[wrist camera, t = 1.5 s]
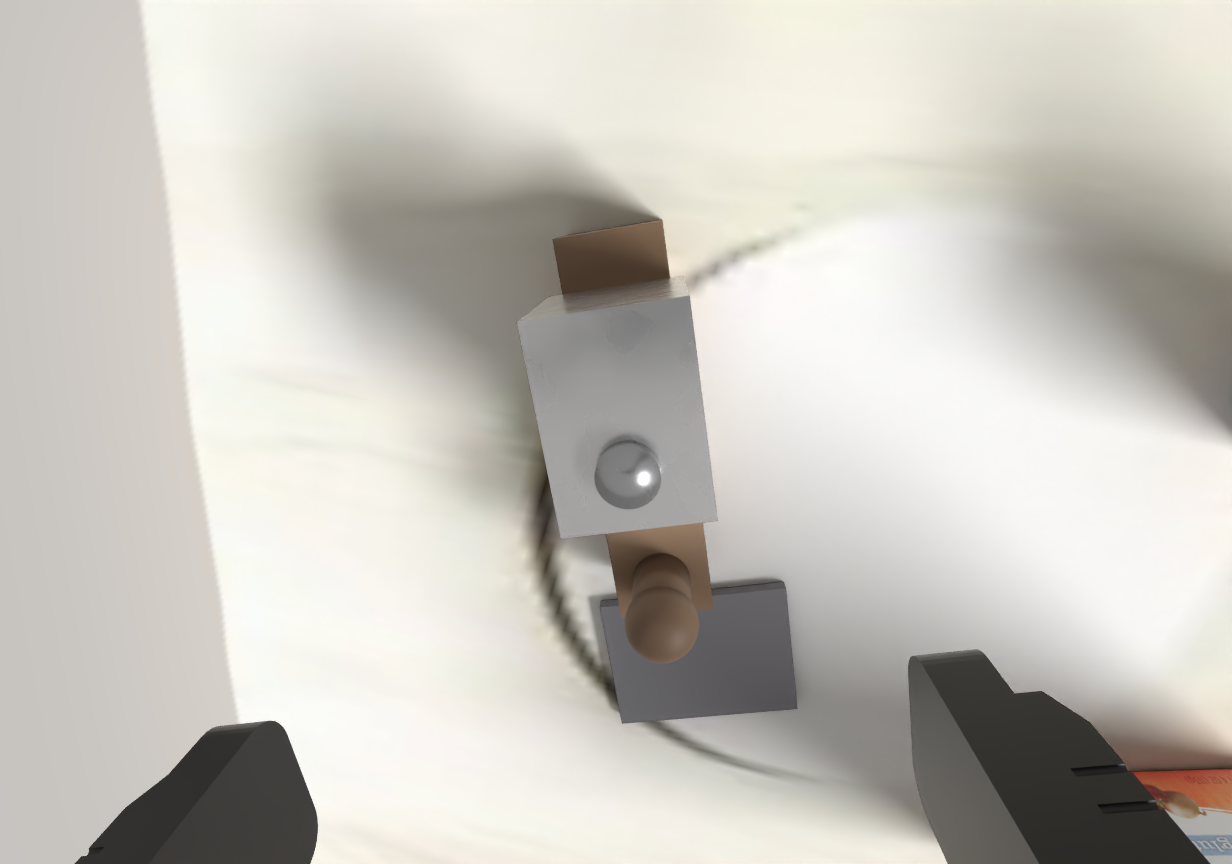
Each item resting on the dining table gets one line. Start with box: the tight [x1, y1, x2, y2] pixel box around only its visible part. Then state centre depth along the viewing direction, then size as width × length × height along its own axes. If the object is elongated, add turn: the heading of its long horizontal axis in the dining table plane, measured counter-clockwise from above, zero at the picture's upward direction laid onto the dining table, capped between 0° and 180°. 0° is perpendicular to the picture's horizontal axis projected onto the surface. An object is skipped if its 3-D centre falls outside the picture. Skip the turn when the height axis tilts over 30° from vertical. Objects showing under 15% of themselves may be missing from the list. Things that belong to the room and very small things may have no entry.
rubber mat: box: [600, 582, 797, 723], centre depth 34 cm, size 7×9×1 cm
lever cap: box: [517, 276, 718, 539], centre depth 23 cm, size 7×5×7 cm
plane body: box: [553, 220, 714, 663], centre depth 26 cm, size 16×4×9 cm, turn 9°
